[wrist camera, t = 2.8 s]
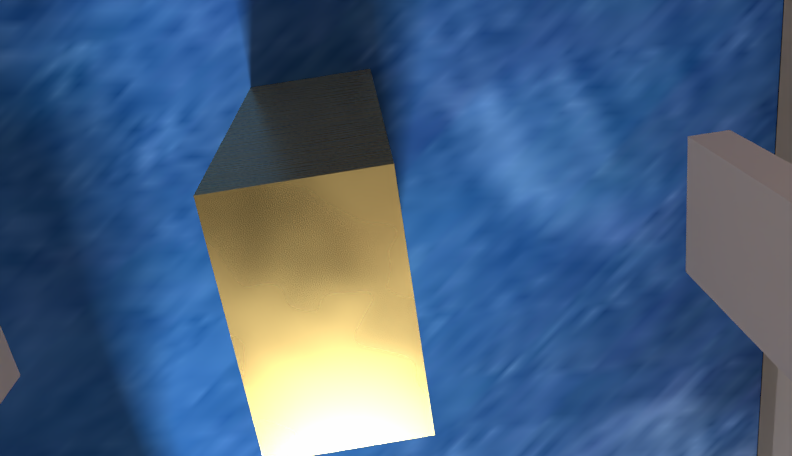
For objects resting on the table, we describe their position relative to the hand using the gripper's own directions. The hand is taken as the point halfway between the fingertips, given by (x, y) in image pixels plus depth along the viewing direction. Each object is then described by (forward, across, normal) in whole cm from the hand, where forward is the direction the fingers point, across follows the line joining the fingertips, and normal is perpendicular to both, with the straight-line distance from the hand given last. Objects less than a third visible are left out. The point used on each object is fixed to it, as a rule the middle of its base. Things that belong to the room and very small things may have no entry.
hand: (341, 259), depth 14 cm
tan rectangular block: (+6, 0, 0) cm, 6 cm away
